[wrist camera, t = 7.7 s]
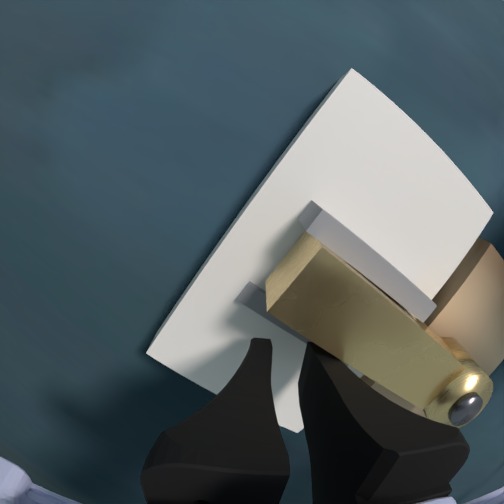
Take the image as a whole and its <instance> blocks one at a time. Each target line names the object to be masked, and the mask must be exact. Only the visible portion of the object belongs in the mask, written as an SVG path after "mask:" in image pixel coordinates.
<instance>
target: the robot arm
mask: <svg viewBox="0 0 504 504" xmlns="http://www.w3.org/2000/svg"><path fill="white" fill-rule="evenodd" d="M272 351H273V347H272V343H271V339H265V338H253V339H251V341H250V347H249V349H248V352H247V354H246V356H245V358H244V360H243V361H242V363H241V365H240V367H239V368H238V370H237V371H236V373H235V374H234V375H233V377H232V378H231V380H230V381H229V382H228V383H227V384H226V386H225V387H224V388H223V389H222V390H221V391H220V392H219V393H218V394H217V395H216V396H215V397H214V398H213V399H212V400H211V401H210V402H209V403H208V404H206V405H205V406H204V407H203V408H201V409H200V410H199V411H197V412H196V413H194V414H193V415H192V416H190V417H189V418H187V419H186V420H184V421H183V422H181V423H179V424H177V425H175V426H173V427H171V428H169V429H167V430H166V431H163V432H162V433H161V435H160V436H159V438H158V439H157V441H156V442H155V444H154V445H153V447H152V449H151V451H150V453H149V455H148V456H147V459H146V461H145V464H144V467H143V470H142V473H141V486H142V489H143V492H144V496H145V499H146V502H147V504H279V502H280V499H281V497H282V494H283V491H284V489H285V486H286V484H287V481H288V478H289V476H290V466H289V456H288V453H287V450H286V448H285V445H284V442H283V439H282V436H281V432H280V429H279V425H278V421H277V416H276V412H275V406H274V401H273V394H272V388H271V369H272ZM298 395H299V406H300V411H301V416H302V420H303V425H304V430H305V434H306V439H307V444H308V448H309V454H310V463H311V476H312V495H313V504H457V503H456V501H455V500H454V499H453V498H452V497H449V496H448V494H450V493H451V492H452V489H451V487H450V484H449V482H450V481H451V479H452V478H453V477H454V476H455V475H456V473H457V472H458V471H459V470H460V468H461V467H462V466H463V464H464V463H465V461H466V460H467V458H468V455H469V452H470V448H469V445H468V443H467V441H466V440H465V438H464V437H463V435H462V433H461V432H460V430H459V428H457V427H453V426H450V425H446V424H443V423H439V422H436V421H433V420H430V419H428V418H425V417H423V416H420V415H418V414H415V413H413V412H411V411H409V410H407V409H405V408H403V407H401V406H399V405H398V404H396V403H394V402H392V401H391V400H389V399H387V398H386V397H384V396H383V395H381V394H380V393H378V392H377V391H375V390H374V389H373V388H371V387H370V386H369V385H368V384H366V383H365V382H364V381H363V380H362V379H360V378H359V377H358V376H357V375H356V374H355V373H354V372H352V371H351V370H350V369H349V368H348V367H347V366H346V365H345V364H344V363H343V362H342V361H341V360H340V359H338V358H337V357H335V356H334V355H332V354H330V353H329V352H327V351H326V350H324V349H323V348H321V347H320V346H318V345H316V344H315V343H313V342H307V345H306V350H305V354H304V359H303V363H302V368H301V372H300V376H299V380H298ZM0 504H81V503H79V502H76V501H73V500H71V499H68V498H66V497H63V496H61V495H58V494H56V493H54V492H51V491H49V490H47V489H45V488H42V487H40V486H38V485H36V484H34V483H32V481H31V479H30V477H29V476H28V474H27V473H26V472H25V471H24V470H23V469H22V468H21V467H19V466H18V465H16V464H14V463H12V462H11V461H9V460H7V459H5V458H3V457H1V456H0ZM464 504H504V487H502V488H500V489H498V490H496V491H494V492H491V493H489V494H487V495H484V496H482V497H479V498H477V499H475V500H472V501H469V502H467V503H464Z"/></svg>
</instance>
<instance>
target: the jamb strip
mask: <svg viewBox="0 0 504 504" xmlns="http://www.w3.org/2000/svg"><path fill="white" fill-rule="evenodd" d="M432 301H433V302H434V303H435V304H436V305H437V307H436V308H435V310H434V311H433V312H432V313H431V314H430V316H429V317H428V318H427V319H426V320H425V321H424V323H425V324H426V325H427V326H428V327H429V328H430V329H431V330H433V331H434V332H435V333H436V334H437V335H438V336H439V337H440V338H442V337H451V338H454V339H456V340H457V341H458V342H459V343H460V344H461V345H462V347H463V348H464V349H465V350H466V351H467V352H468V353H469V354H470V356H471V357H472V358H473V359H474V360H475V361H476V362H477V364H478V365H479V366H480V367H481V368H482V369H483V371H484V372H485V373H486V374H487V375H488V376H490V374H491V373H492V372H493V371H494V370H495V369H496V368H497V366H498V365H499V364H500V363H501V362H502V360H503V359H504V260H503V259H502V257H501V256H500V254H499V253H498V252H497V250H496V249H495V248H494V246H493V245H492V244H491V243H490V242H488V241H486V240H483V239H481V238H479V237H478V238H477V239H476V241H475V242H474V244H473V245H472V247H471V248H470V250H469V251H468V252H467V254H466V255H465V257H464V258H463V260H462V261H461V262H460V264H459V265H458V266H457V268H456V269H455V271H454V272H453V273H452V275H451V276H450V277H449V279H448V280H447V281H446V282H445V284H444V285H443V286H442V288H441V289H440V290H439V291H438V293H437V294H436V295H435V296H434V298H433V299H432ZM360 379H362V380H363V381H364V382H365V383H366V384H368V385H369V386H370V387H371V388H373V389H374V390H375V391H377V392H378V393H380V394H381V395H383V396H384V397H386V398H387V399H389V400H391V401H392V402H394V403H396V404H398V405H399V406H401V407H403V408H405V409H407V410H409V411H411V412H413V413H415V414H418V415H420V416H423V417H425V418H427V417H426V415H425V414H424V412H423V410H422V409H420V408H419V407H417V406H415V405H414V404H412V403H410V402H409V401H407V400H405V399H403V398H402V397H400V396H398V395H397V394H395V393H393V392H392V391H390V390H388V389H387V388H385V387H384V386H382V385H380V384H379V383H377V382H375V381H374V380H372V379H370V378H369V377H367V376H366V375H363V376H362V377H361V378H360Z"/></svg>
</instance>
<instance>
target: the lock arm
mask: <svg viewBox="0 0 504 504" xmlns="http://www.w3.org/2000/svg"><path fill="white" fill-rule="evenodd" d="M265 283H266V304H267V312H268V313H269V314H271V315H272V316H274V317H275V318H277V319H278V320H280V321H281V322H283V323H284V324H286V325H287V326H289V327H290V328H292V329H293V330H295V331H296V332H298V333H299V334H301V335H303V336H304V337H306V338H307V339H309V340H310V341H312V342H313V343H315V344H316V345H318V346H320V347H321V348H323V349H324V350H326V351H327V352H329V353H330V354H332V355H334V356H335V357H337V358H338V359H340V360H342V361H343V362H345V363H346V364H348V365H349V366H351V367H353V368H354V369H356V370H358V371H359V372H361V373H362V374H364V375H366V376H367V377H369V378H370V379H372V380H374V381H375V382H377V383H379V384H380V385H382V386H384V387H385V388H387V389H388V390H390V391H392V392H393V393H395V394H397V395H398V396H400V397H402V398H403V399H405V400H407V401H409V402H410V403H412V404H414V405H415V406H417V407H419V408H420V409H422V410H423V412H424V414H425V415H426V417H427V418H428V419H430V420H433V421H436V422H439V423H443V424H446V425H450V426H453V427H457V428H461V427H463V426H464V425H466V424H467V423H469V422H470V421H471V420H473V419H474V418H475V417H476V416H477V415H478V414H479V413H480V412H481V411H482V410H483V409H484V407H485V406H486V404H487V403H488V401H489V399H490V397H491V395H492V392H493V382H492V380H491V379H490V378H489V376H488V375H487V374H486V373H485V372H484V371H483V369H482V368H481V367H480V366H479V365H478V364H477V362H476V361H475V360H474V359H473V358H472V357H471V356H470V354H469V353H468V352H467V351H466V350H465V349H464V348H463V347H462V345H461V344H460V343H459V342H458V341H457V340H456V339H454V338H451V337H442V338H440V337H439V336H438V335H437V334H436V333H435V332H434V331H433V330H431V329H430V328H429V327H428V326H427V325H426V324H425V323H423V322H421V321H420V320H419V319H418V318H417V317H415V316H414V315H413V314H412V313H410V312H409V311H408V310H407V309H406V308H404V307H403V306H402V305H401V304H399V303H398V302H397V301H396V300H394V299H393V298H392V297H391V296H389V295H388V294H387V293H386V292H384V291H383V290H382V289H381V288H379V287H378V286H377V285H376V284H374V283H373V282H372V281H370V280H369V279H368V278H367V277H365V276H364V275H363V274H361V273H360V272H359V271H358V270H356V269H355V268H354V267H352V266H351V265H350V264H349V263H347V262H346V261H345V260H343V259H342V258H341V257H339V256H338V255H337V254H335V253H334V252H333V251H332V250H330V249H329V248H328V247H326V246H325V245H324V244H323V243H321V242H320V241H319V240H318V239H315V238H314V237H313V236H311V235H310V234H309V233H307V232H306V231H305V232H304V234H303V235H302V236H301V237H300V239H299V240H298V241H297V242H296V243H295V245H294V246H293V247H292V248H291V250H290V251H289V252H288V253H287V255H286V256H285V257H284V258H283V259H282V261H281V262H280V263H279V264H278V266H277V267H276V268H275V269H274V270H273V272H272V273H271V274H270V275H269V277H268V278H267V279H266V280H265Z"/></svg>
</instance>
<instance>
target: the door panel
mask: <svg viewBox="0 0 504 504" xmlns="http://www.w3.org/2000/svg"><path fill="white" fill-rule="evenodd" d="M492 214H493V211H492V210H491V209H490V207H489V206H488V205H487V203H486V202H485V201H484V199H483V198H482V197H481V196H480V194H479V193H478V192H477V190H476V189H475V188H474V187H473V186H472V184H471V183H470V182H469V181H468V179H467V178H466V177H465V176H464V175H463V173H462V172H461V171H460V170H459V169H458V168H457V167H456V165H455V164H454V163H453V162H452V161H451V160H450V159H449V157H448V156H447V155H446V154H445V153H444V152H443V151H442V150H441V149H440V148H439V147H438V146H437V145H436V143H435V142H434V141H433V140H432V139H431V138H430V137H429V136H428V135H427V134H426V133H425V132H424V131H423V130H422V129H421V128H420V127H419V126H418V125H417V124H416V123H415V122H414V121H413V120H412V119H411V118H409V117H408V116H407V115H406V114H405V113H404V112H403V111H402V110H401V109H400V108H399V107H398V106H397V105H395V104H394V103H393V102H392V101H391V100H390V99H389V98H388V97H386V96H385V95H384V94H383V93H382V92H381V91H379V90H378V89H377V88H376V87H375V86H374V85H372V84H371V83H370V82H369V81H367V80H366V79H365V78H364V77H362V76H361V75H360V74H359V73H357V72H356V71H355V70H354V69H352V68H351V69H350V70H349V71H348V72H347V73H346V74H345V75H344V76H342V77H341V78H340V79H339V80H338V81H337V83H336V84H335V85H334V86H333V88H332V89H331V90H330V92H329V93H328V94H327V95H326V97H325V98H324V99H323V101H322V102H321V103H320V105H319V106H318V107H317V108H316V110H315V111H314V112H313V114H312V115H311V116H310V118H309V119H308V120H307V122H306V123H305V124H304V126H303V127H302V128H301V130H300V131H299V132H298V134H297V135H296V136H295V137H294V139H293V140H292V141H291V143H290V144H289V146H288V147H287V148H286V150H285V151H284V152H283V154H282V155H281V156H280V158H279V159H278V160H277V162H276V163H275V164H274V166H273V167H272V168H271V170H270V171H269V173H268V174H267V175H266V177H265V178H264V179H263V181H262V182H261V183H260V185H259V186H258V188H257V189H256V190H255V192H254V193H253V194H252V196H251V197H250V199H249V200H248V201H247V203H246V204H245V206H244V207H243V208H242V210H241V211H240V212H239V214H238V215H237V217H236V218H235V219H234V221H233V222H232V224H231V225H230V227H229V228H228V229H227V231H226V232H225V234H224V235H223V236H222V238H221V239H220V241H219V242H218V243H217V245H216V246H215V248H214V249H213V251H212V252H211V253H210V255H209V256H208V258H207V259H206V261H205V262H204V264H203V265H202V266H201V268H200V269H199V271H198V272H197V274H196V275H195V277H194V278H193V279H192V281H191V282H190V284H189V285H188V287H187V288H186V290H185V291H184V293H183V294H182V296H181V297H180V298H179V300H178V301H177V303H176V304H175V306H174V307H173V309H172V310H171V312H170V313H169V315H168V316H167V318H166V319H165V321H164V322H163V324H162V325H161V327H160V328H159V330H158V331H157V333H156V335H155V337H154V339H153V341H152V343H151V345H150V346H149V348H148V350H147V352H146V354H148V355H149V356H151V357H153V358H154V359H156V360H157V361H159V362H161V363H162V364H164V365H165V366H167V367H169V368H170V369H172V370H174V371H175V372H177V373H179V374H181V375H182V376H184V377H186V378H187V379H189V380H191V381H193V382H195V383H196V384H198V385H200V386H202V387H204V388H205V389H207V390H209V391H211V392H213V393H215V394H216V395H217V394H218V393H219V392H220V391H221V390H222V389H223V388H224V387H225V386H226V384H227V383H228V382H229V381H230V380H231V378H232V377H233V375H234V374H235V373H236V371H237V370H238V368H239V367H240V365H241V363H242V361H243V360H244V358H245V356H246V354H247V352H248V349H249V347H250V341H251V339H253V338H265V339H271V343H272V347H273V351H272V369H271V388H272V394H273V401H274V406H275V412H276V416H277V421H278V425H280V426H282V427H285V428H287V429H289V430H292V431H294V432H296V433H298V432H299V431H301V430H302V429H303V428H304V425H303V420H302V416H301V411H300V406H299V395H298V380H299V376H300V372H301V368H302V363H303V359H304V354H305V350H306V345H307V342H312V341H310V340H309V339H307V338H306V337H304V336H303V335H301V334H299V333H298V332H296V331H295V330H293V329H292V328H290V327H289V326H287V325H286V324H284V323H283V322H281V321H280V320H278V319H277V318H275V317H274V316H272V315H271V314H269V313H268V312H267V304H266V283H265V280H266V279H267V278H268V277H269V275H270V274H271V273H272V272H273V270H274V269H275V268H276V267H277V266H278V264H279V263H280V262H281V261H282V259H283V258H284V257H285V256H286V255H287V253H288V252H289V251H290V250H291V248H292V247H293V246H294V245H295V243H296V242H297V241H298V240H299V239H300V237H301V236H302V235H303V234H304V232H305V231H306V232H307V233H309V234H310V235H311V236H313V237H314V238H315V239H318V240H319V241H320V242H321V243H323V244H324V245H325V246H326V247H328V248H329V249H330V250H332V251H333V252H334V253H335V254H337V255H338V256H339V257H341V258H342V259H343V260H345V261H346V262H347V263H349V264H350V265H351V266H352V267H354V268H355V269H356V270H358V271H359V272H360V273H361V274H363V275H364V276H365V277H367V278H368V279H369V280H370V281H372V282H373V283H374V284H376V285H377V286H378V287H379V288H381V289H382V290H383V291H384V292H386V293H387V294H388V295H389V296H391V297H392V298H393V299H394V300H396V301H397V302H398V303H399V304H401V305H402V306H403V307H404V308H406V309H407V310H408V311H409V312H410V313H412V314H413V315H414V316H415V317H417V318H418V319H419V320H420V321H421V322H423V323H424V321H425V320H426V319H427V318H428V317H429V316H430V314H431V313H432V312H433V311H434V310H435V308H436V307H437V305H436V304H435V303H434V302H433V301H432V299H433V298H434V296H435V295H436V294H437V293H438V291H439V290H440V289H441V288H442V286H443V285H444V284H445V282H446V281H447V280H448V279H449V277H450V276H451V275H452V273H453V272H454V271H455V269H456V268H457V266H458V265H459V264H460V262H461V261H462V260H463V258H464V257H465V255H466V254H467V252H468V251H469V250H470V248H471V247H472V245H473V244H474V242H475V241H476V239H477V238H478V236H479V235H480V233H481V232H482V230H483V229H484V227H485V226H486V224H487V222H488V221H489V219H490V218H491V216H492ZM341 361H342V360H341ZM342 362H343V361H342ZM343 363H344V364H345V365H346V366H347V367H348V368H349V369H350V370H351V371H352V372H354V373H355V374H356V375H357V376H358V377H359V378H361V377H362V376H363V375H364V374H362V373H361V372H359V371H358V370H356V369H354V368H353V367H351V366H349V365H348V364H346V363H345V362H343Z"/></svg>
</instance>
